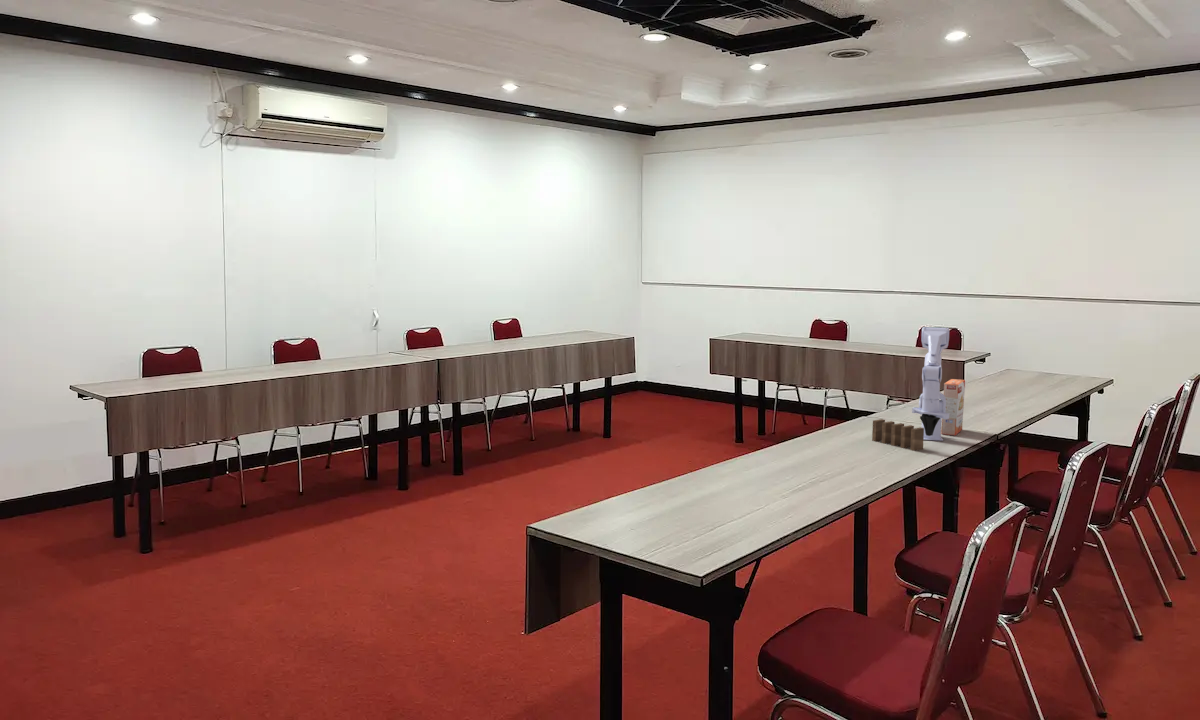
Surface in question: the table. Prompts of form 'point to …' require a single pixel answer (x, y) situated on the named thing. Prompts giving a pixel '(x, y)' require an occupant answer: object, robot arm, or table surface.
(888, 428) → the domino
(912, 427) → the domino
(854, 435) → the table surface
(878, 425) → the domino
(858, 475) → the table surface
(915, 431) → the domino
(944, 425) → the cracker box
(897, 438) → the domino
